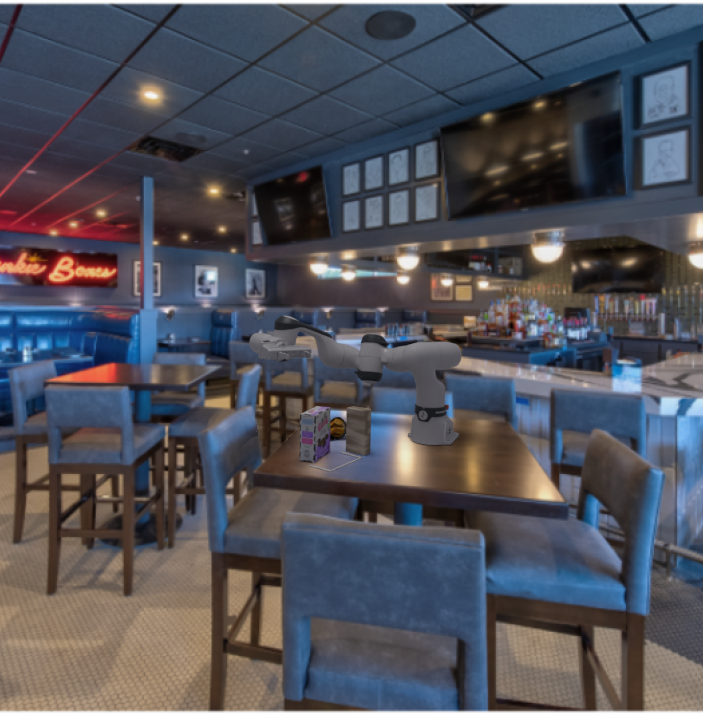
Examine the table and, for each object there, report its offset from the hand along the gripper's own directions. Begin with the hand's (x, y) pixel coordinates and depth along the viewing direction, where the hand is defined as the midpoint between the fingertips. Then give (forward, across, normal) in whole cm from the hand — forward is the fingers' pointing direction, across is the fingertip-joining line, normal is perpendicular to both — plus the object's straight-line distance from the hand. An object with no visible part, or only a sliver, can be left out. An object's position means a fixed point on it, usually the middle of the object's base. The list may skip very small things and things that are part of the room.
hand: (299, 356), depth 171 cm
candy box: (+17, +3, -32) cm, 36 cm away
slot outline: (+26, +1, -30) cm, 40 cm away
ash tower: (+24, -12, -30) cm, 41 cm away
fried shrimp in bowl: (+6, -14, -33) cm, 36 cm away
